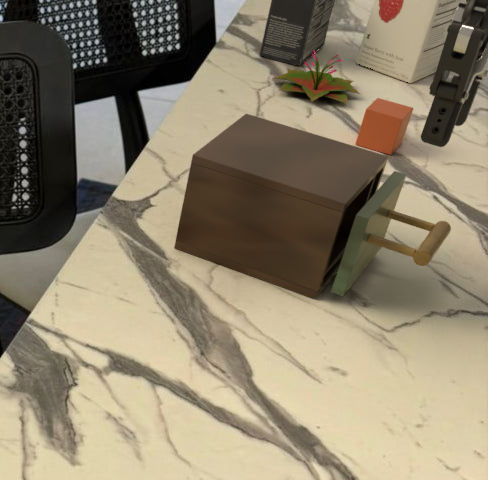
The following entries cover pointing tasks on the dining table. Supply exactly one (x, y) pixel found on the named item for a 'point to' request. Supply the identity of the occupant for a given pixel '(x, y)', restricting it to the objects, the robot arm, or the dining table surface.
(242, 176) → the cabinet
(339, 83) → the lily flower
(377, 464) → the dining table surface
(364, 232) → the drawer
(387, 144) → the block
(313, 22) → the small box
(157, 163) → the dining table surface
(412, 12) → the rectangular carton
